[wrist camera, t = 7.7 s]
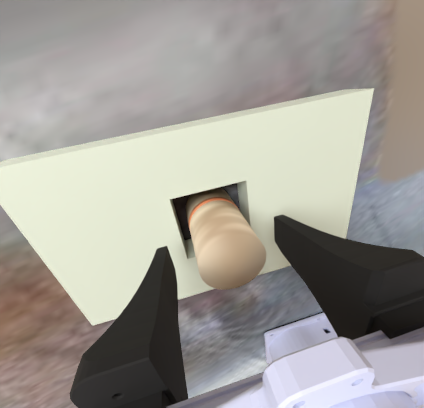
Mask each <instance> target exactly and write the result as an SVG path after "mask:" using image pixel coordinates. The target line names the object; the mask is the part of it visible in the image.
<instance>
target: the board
mask: <svg viewBox="0 0 424 408" xmlns="http://www.w3.org/2000/svg"><path fill="white" fill-rule="evenodd" d="M373 90H374V88H371V89H346V90H340V91H335V92H330V93H326V94H321V95H316V96H311V97H306V98H302V99H297V100H292V101H287V102H282V103H277V104H273V105H268V106H263V107H258V108H253V109H248V110H244V111H239V112H234V113H229V114H224V115H220V116H215V117H210V118H205V119H200V120H195V121H191V122H186V123H181V124H176V125H171V126H166V127H162V128H157V129H152V130H147V131H142V132H138V133H133V134H128V135H123V136H118V137H113V138H109V139H104V140H99V141H94V142H89V143H84V144H80V145H75V146H70V147H65V148H60V149H56V150H51V151H46V152H41V153H36V154H31V155H27V156H22V157H17V158H12V159H7V160H4V161H2V162H0V205H1V206H2V207H3V209H4V210H5V211H6V213H7V214H8V215H9V217H10V218H11V219H12V221H13V222H14V223H15V224H16V226H17V227H18V228H19V230H20V231H21V232H22V234H23V235H24V236H25V238H26V239H27V240H28V242H29V243H30V244H31V245H32V247H33V248H34V249H35V251H36V252H37V253H38V255H39V256H40V257H41V259H42V260H43V261H44V263H45V264H46V265H47V267H48V268H49V269H50V270H51V272H52V273H53V274H54V276H55V277H56V278H57V280H58V281H59V282H60V284H61V285H62V286H63V288H64V289H65V290H66V291H67V293H68V294H69V295H70V297H71V298H72V299H73V301H74V302H75V303H76V305H77V306H78V307H79V309H80V310H81V311H82V313H83V314H84V315H85V316H86V318H87V319H88V320H89V322H90V323H91V324H92V326H93V325H96V324H100V323H103V322H106V321H110V320H113V319H116V318H118V317H119V315H120V314H121V313H122V311H123V310H124V309H125V308H126V306H127V305H128V303H129V302H130V301H131V299H132V297H133V296H134V294H135V293H136V291H137V290H138V288H139V286H140V284H141V282H142V281H143V279H144V277H145V275H146V273H147V271H148V269H149V267H150V264H151V262H152V260H153V257H154V255H155V252H156V250H157V248H161V247H164V246H167V247H168V250H169V253H170V256H171V258H172V261H173V264H174V267H175V271H176V278H177V291H178V300H179V299H182V298H185V297H189V296H192V295H195V294H199V293H202V292H205V291H208V290H212V289H215V288H213V287H211V286H209V285H207V284H206V283H205V282H204V281H203V280H202V278H201V277H200V274H199V269H198V265H197V260H196V256H195V251H194V247H193V242H192V239H188V240H184V238H183V234H182V231H181V227H180V224H179V221H178V217H177V214H176V210H175V207H174V204H173V200H172V199H174V198H178V197H182V196H186V195H190V194H194V193H198V192H202V191H206V190H210V189H214V188H218V187H222V186H226V185H230V184H234V183H237V188H238V197H239V206H240V212H241V214H242V215H243V217H244V218H245V219H246V221H247V222H248V224H249V225H250V227H251V228H252V230H253V231H254V232H255V234H256V235H257V237H258V238H259V240H260V241H261V243H262V244H263V245H264V247H265V250H266V261H265V264H264V267H263V269H262V270H261V272H260V273H259V274H258V275H261V274H264V273H268V272H271V271H274V270H278V269H281V268H284V267H287V266H291V264H290V263H289V262H288V260H287V259H286V258H285V257H284V255H283V254H282V253H281V251H280V249H279V248H278V246H277V244H276V243H275V241H274V217H275V216H279V215H285V216H287V217H290V218H292V219H294V220H296V221H299V222H301V223H303V224H305V225H308V226H310V227H313V228H315V229H317V230H320V231H323V232H326V233H328V234H331V235H334V236H338V237H341V238H344V239H346V235H347V230H348V224H349V219H350V214H351V208H352V203H353V198H354V192H355V187H356V181H357V176H358V171H359V165H360V160H361V155H362V149H363V144H364V139H365V133H366V128H367V123H368V117H369V112H370V106H371V101H372V96H373ZM258 275H257V276H258Z"/></svg>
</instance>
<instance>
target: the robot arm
mask: <svg viewBox="0 0 424 408" xmlns="http://www.w3.org/2000/svg"><path fill="white" fill-rule="evenodd" d="M274 241H275V243H276V244H277V246H278V248H279V249H280V251H281V253H282V254H283V255H284V257H285V258H286V259H287V260H288V262H289V263H290V264H291V265H292V267H293V268H294V269H295V270H296V272H297V273H298V274H299V275H300V277H301V278H302V279H303V280H304V282H305V283H306V285H307V286H308V288H309V289H310V291H311V292H312V294H313V295H314V297H315V298H316V300H317V302H318V303H319V305H320V307H321V308H322V310H323V311H324V313H321V314H318V315H315V316H312V317H309V318H306V319H303V320H300V321H297V322H294V323H291V324H288V325H285V326H282V327H279V328H276V329H273V330H270V331H267V332H265V334H264V340H265V353H266V362H267V363H268V364H269V365H268V366H267V367H266V368H265V371H264V372H262V373H259V374H257V375H254V376H251V377H248V378H246V379H243V380H240V381H237V382H234V383H232V384H229V385H226V386H223V387H220V388H218V389H215V390H212V391H209V392H206V393H204V394H201V395H198V396H195V397H193V398H190V399H188V394H187V387H186V380H185V373H184V366H183V358H182V351H181V343H180V334H179V325H178V291H177V278H176V271H175V267H174V264H173V261H172V258H171V256H170V253H169V250H168V247H167V246H164V247H161V248H157V250H156V252H155V255H154V257H153V260H152V262H151V264H150V267H149V269H148V271H147V273H146V275H145V277H144V279H143V281H142V282H141V284H140V286H139V288H138V290H137V291H136V293H135V294H134V296H133V297H132V299H131V301H130V302H129V303H128V305H127V306H126V308H125V309H124V310H123V311H122V313H121V314H120V315H119V317H118V318H117V319H116V320H115V321H114V323H113V324H112V325H111V326H110V327H109V328H108V329H107V331H106V332H105V333H104V334H103V335H102V336H101V337H100V338H99V339H98V340H97V341H96V342H95V343H94V344H93V345H92V346H91V347H90V348H89V349H88V350H87V351H86V352H85V353H84V354H83V356H82V358H81V361H80V363H79V366H78V369H77V372H76V375H75V379H74V382H73V385H72V388H71V392H70V399H71V400H72V402H73V403H74V404H75V405H76V406H77V407H78V408H424V257H423V256H421V255H420V254H418V253H416V252H415V251H413V250H407V249H398V248H389V247H382V246H376V245H371V244H365V243H361V242H356V241H352V240H348V239H344V238H341V237H338V236H334V235H331V234H328V233H326V232H323V231H320V230H317V229H315V228H313V227H310V226H308V225H305V224H303V223H301V222H299V221H296V220H294V219H292V218H290V217H287V216H285V215H279V216H275V217H274Z"/></svg>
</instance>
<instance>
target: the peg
mask: <svg viewBox="0 0 424 408" xmlns="http://www.w3.org/2000/svg"><path fill="white" fill-rule="evenodd" d="M186 215H187V220H188V225H189V230H190V233H191V238H192V242H193V247H194V251H195V256H196V260H197V265H198V269H199V274H200V277H201V278H202V280H203V281H204V282H205V283H206V284H207V285H209V286H211V287H213V288H216V289H233V288H237V287H240V286H242V285H245V284H246V283H248V282H250V281H251V280H253V279H254V278H255V277H256V276H257V275H258V274H259V273H260V272H261V270H262V269H263V267H264V264H265V261H266V250H265V247H264V245H263V244H262V243H261V241H260V240H259V238H258V237H257V235H256V234H255V232H254V231H253V230H252V228H251V227H250V225H249V224H248V222H247V221H246V219H245V218H244V217H243V215H242V214H241V212H240V210H239V209H238V207H237V206H236V205H235V204H234V202H233V201H232V199H231V198H230V196H229V195H228V194H227V192H226V191H225V190H223V189H222V188H220V187H218V188H214V189H210V190H206V191H202V192H198V193H194V194H191V195H190V197H189V198H188V200H187V203H186Z"/></svg>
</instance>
